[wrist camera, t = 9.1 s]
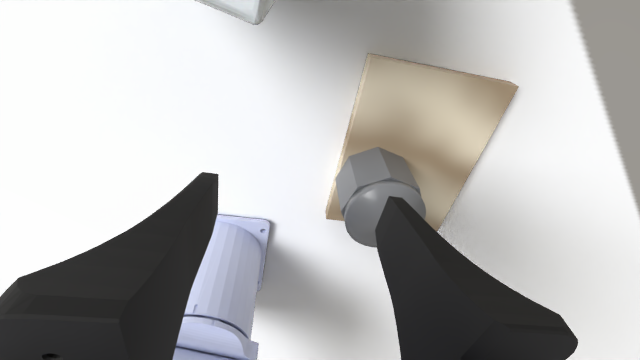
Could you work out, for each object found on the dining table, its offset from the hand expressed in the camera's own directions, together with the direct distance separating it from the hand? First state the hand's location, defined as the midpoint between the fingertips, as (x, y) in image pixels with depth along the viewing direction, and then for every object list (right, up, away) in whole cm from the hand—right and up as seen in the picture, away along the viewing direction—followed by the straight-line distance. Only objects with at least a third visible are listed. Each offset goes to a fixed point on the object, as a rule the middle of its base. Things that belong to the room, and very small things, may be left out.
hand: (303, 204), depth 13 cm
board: (+7, +3, +10) cm, 13 cm away
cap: (+5, +1, +10) cm, 12 cm away
